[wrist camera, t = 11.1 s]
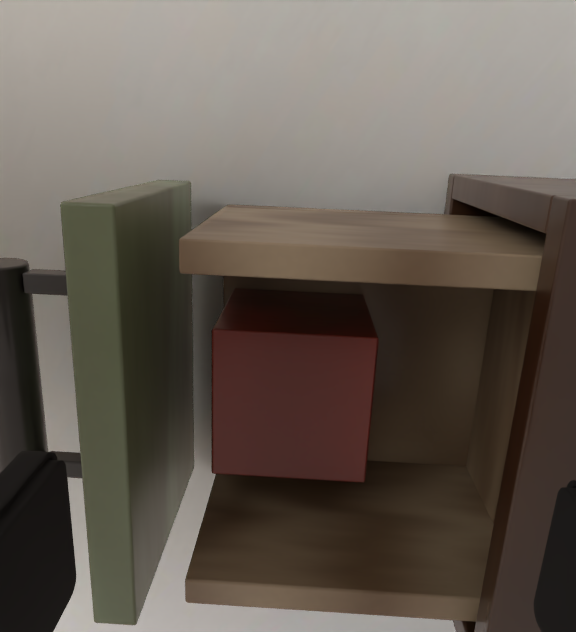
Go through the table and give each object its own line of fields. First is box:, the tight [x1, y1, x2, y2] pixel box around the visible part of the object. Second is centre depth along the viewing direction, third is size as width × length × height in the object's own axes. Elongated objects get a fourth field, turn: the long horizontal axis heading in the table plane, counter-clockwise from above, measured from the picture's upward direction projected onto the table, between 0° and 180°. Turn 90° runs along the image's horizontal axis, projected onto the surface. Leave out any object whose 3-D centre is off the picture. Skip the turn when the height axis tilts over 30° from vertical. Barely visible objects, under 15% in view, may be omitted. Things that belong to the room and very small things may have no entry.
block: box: [212, 288, 379, 483], centre depth 17 cm, size 4×4×4 cm
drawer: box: [0, 180, 546, 625], centre depth 17 cm, size 17×11×8 cm
